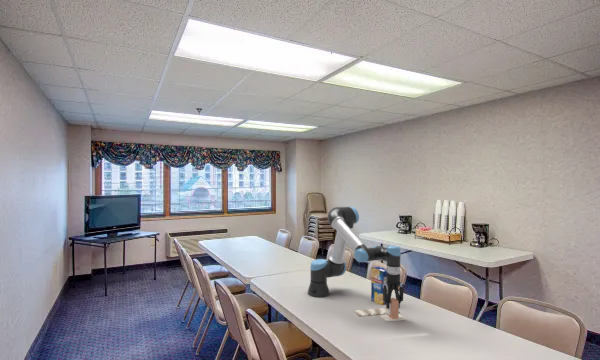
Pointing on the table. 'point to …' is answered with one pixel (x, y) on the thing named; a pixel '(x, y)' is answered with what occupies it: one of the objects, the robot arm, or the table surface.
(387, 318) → the stub
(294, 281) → the table surface
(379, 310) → the white tray
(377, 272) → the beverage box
